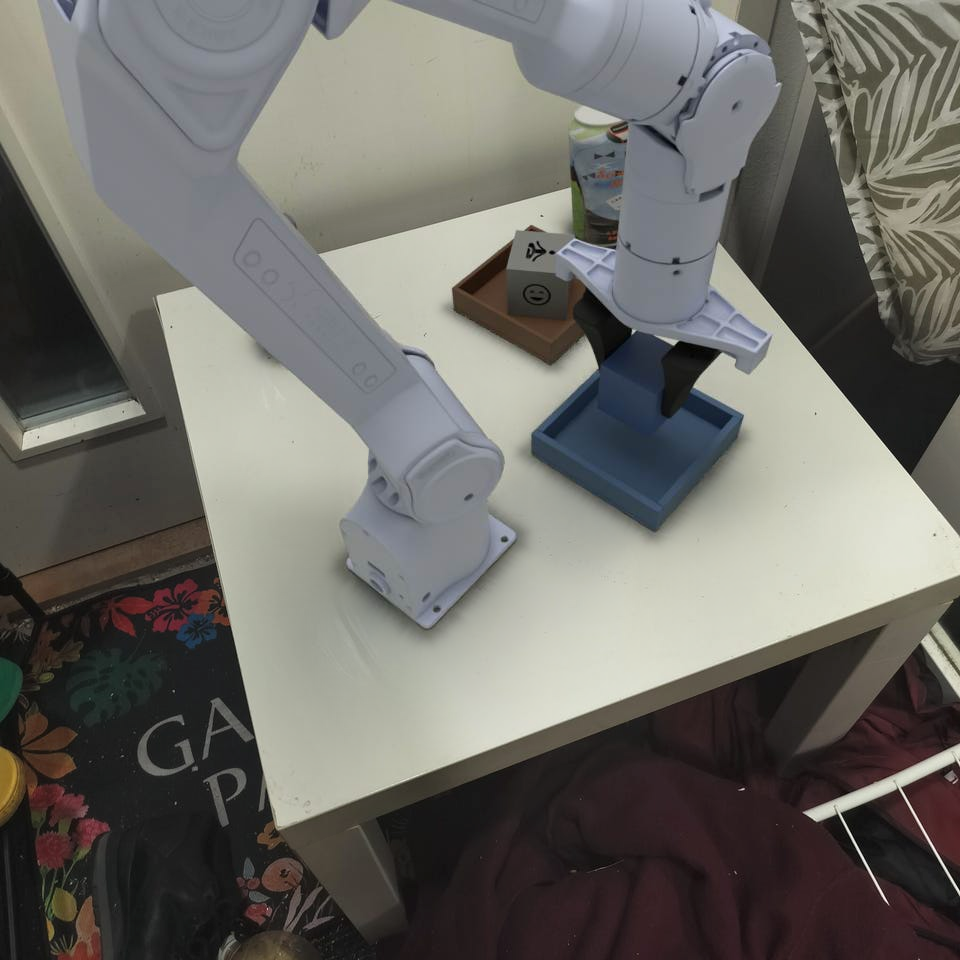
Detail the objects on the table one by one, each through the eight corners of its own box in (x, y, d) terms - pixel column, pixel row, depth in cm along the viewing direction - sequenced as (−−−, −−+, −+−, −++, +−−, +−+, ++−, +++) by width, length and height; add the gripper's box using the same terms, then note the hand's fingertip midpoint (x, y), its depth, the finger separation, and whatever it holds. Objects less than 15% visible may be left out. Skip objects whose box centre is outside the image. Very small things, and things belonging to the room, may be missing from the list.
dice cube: (517, 276, 75) (516, 230, 71) (572, 281, 74) (575, 234, 70) (507, 314, 72) (506, 268, 68) (565, 320, 72) (567, 274, 67)
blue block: (649, 438, 58) (657, 395, 55) (596, 408, 60) (600, 364, 57) (685, 400, 60) (694, 356, 57) (632, 372, 62) (639, 327, 58)
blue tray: (654, 532, 59) (659, 512, 57) (530, 453, 64) (530, 433, 62) (738, 435, 64) (744, 414, 62) (617, 369, 69) (619, 347, 67)
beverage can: (604, 266, 76) (614, 145, 66) (549, 228, 80) (552, 109, 70) (653, 235, 78) (670, 114, 69) (597, 200, 82) (606, 81, 72)
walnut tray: (550, 365, 69) (551, 343, 67) (453, 310, 74) (451, 288, 72) (627, 294, 74) (629, 272, 72) (531, 246, 78) (531, 224, 76)
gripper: (819, 245, 47) (764, 406, 58) (606, 155, 53) (593, 316, 64) (753, 315, 44) (709, 470, 55) (535, 211, 50) (535, 369, 61)
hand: (643, 391), depth 59 cm, fingers closed on blue block, 4 cm apart
